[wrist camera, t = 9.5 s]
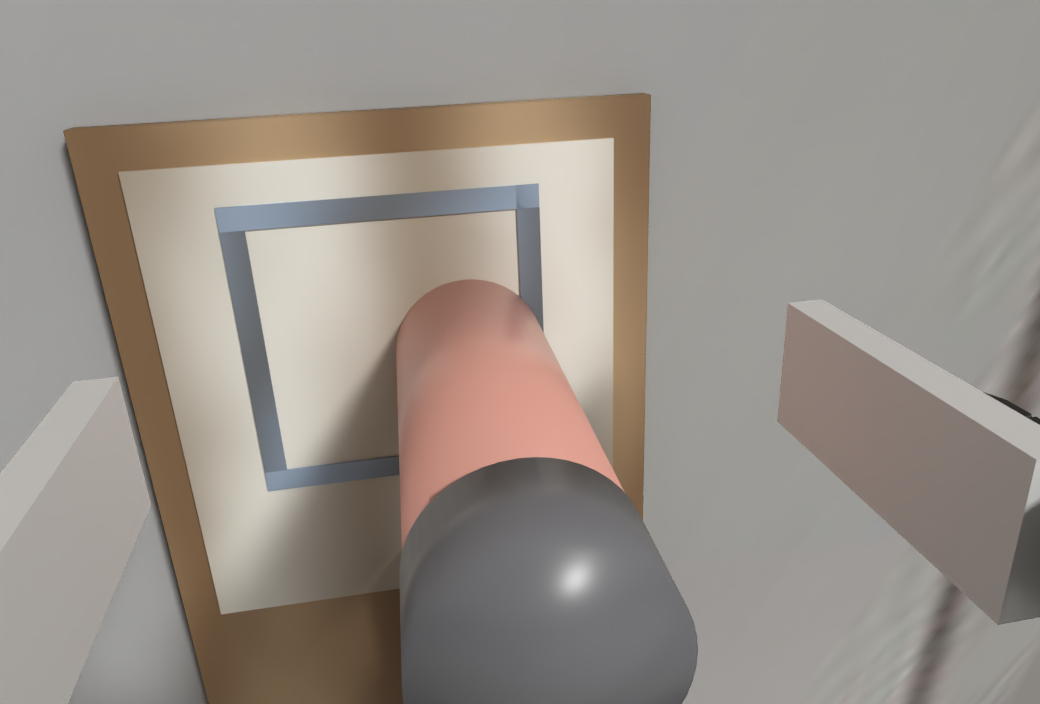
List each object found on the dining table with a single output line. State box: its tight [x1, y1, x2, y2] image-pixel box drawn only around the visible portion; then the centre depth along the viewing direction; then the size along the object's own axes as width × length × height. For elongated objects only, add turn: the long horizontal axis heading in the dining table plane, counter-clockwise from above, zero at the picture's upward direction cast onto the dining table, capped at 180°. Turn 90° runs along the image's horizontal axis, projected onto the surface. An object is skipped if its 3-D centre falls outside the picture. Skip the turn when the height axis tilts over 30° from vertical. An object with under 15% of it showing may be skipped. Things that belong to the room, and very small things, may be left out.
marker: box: [396, 279, 698, 704], centre depth 16 cm, size 4×4×12 cm
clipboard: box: [63, 93, 651, 704], centre depth 22 cm, size 14×20×3 cm
